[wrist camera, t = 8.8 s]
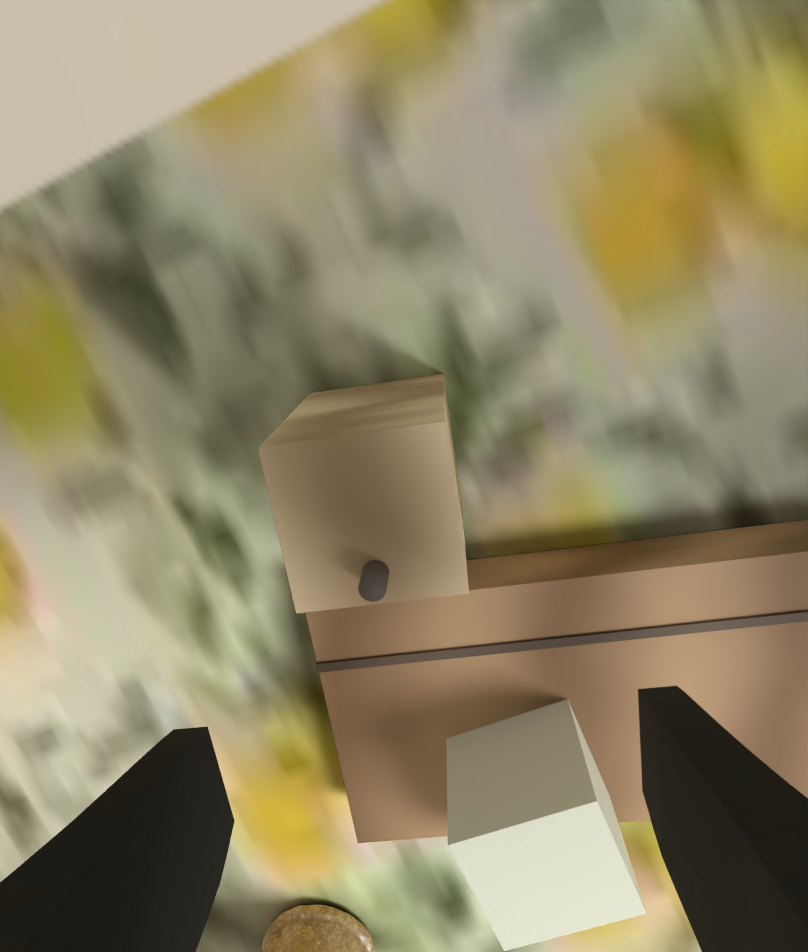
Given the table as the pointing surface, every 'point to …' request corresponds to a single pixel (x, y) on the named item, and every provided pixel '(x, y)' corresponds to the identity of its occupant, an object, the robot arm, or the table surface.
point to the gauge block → (368, 496)
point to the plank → (570, 662)
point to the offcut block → (537, 828)
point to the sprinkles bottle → (316, 931)
